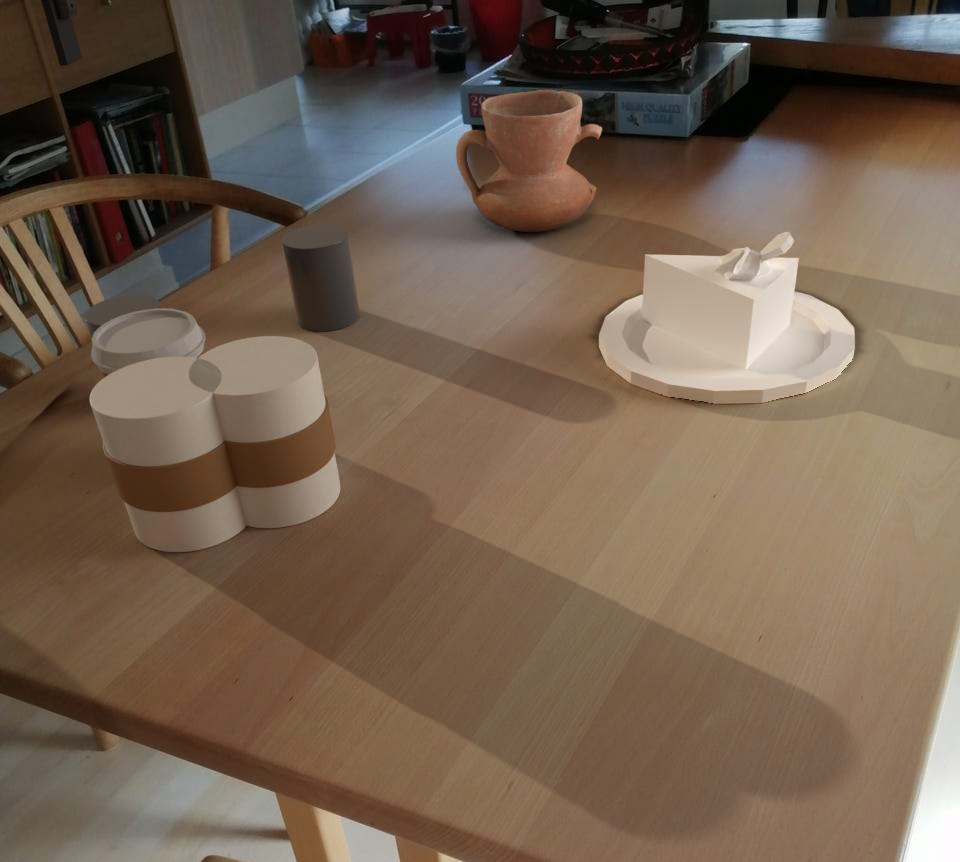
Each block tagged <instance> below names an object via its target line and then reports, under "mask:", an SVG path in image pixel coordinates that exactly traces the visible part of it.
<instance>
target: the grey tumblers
mask: <svg viewBox="0 0 960 862" xmlns="http://www.w3.org/2000/svg"><path fill="white" fill-rule="evenodd" d="M281 243H282V249H283V253H284V259H285V265H286V270H287V275H288V280H289V285H290V286H289V287H290V291H291V297H292V301H293V308H294V312H295V318H296V322H297V324H298V326H299V327H301V328H302V329H304V330H307V331H312V332H332V331H337V330H340V329H341V330H342V329H344V328H347V327H350V326H352V325H353V324H355V323H356V322H357V321H358V320H359V319H360V317H361V311H360V303H359V297H358V290H357V284H356V277H355V271H354V262H353V255H352V250H351V249H352V248H351V242H350V236H349V230H347V228H345V227H343V226H340V225H336V224H311V225H306V226H302V227H299V228H296V229H293V230H291V231H289V232H287V233H286V234H284V236H283V237H282V238H281ZM149 309H162V305H161V302H160V301H159V300H158V299H157V298H156V297H154V296H152V295H148V294H124V295H119V296H118V295H117V296H114V297H111V298H107V299H104V300H102V301H99V302H97V303H95V304H94V305H92V306H90V307H89V308H88V309H87V310H86V311H85V313H84V316H83V317H84V321H85V323H86V326H87V330H88V332H89V333H88V334H89V336H90V338H91V340H92V337H93V334H94V332H95V331H96V330H97V329H98V328H99V327H100V326H101V325H103V324H105V323H106V322H108V321H110V320H112V319H114V318H117V317H119V316H122V315H125V314H129V313H132V312H136V311H142V310H149ZM102 375H103V378H105V376H104V374H103V373H102Z"/></svg>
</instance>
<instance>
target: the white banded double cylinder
mask: <svg viewBox="0 0 960 862" xmlns="http://www.w3.org/2000/svg"><path fill="white" fill-rule="evenodd" d="M319 363H320V362H319V358H318V354H317V351H316V349H315V348H314V347H313V346H312V345H311V344H309V343H308V342H306V341H303V340H301V339H299V338H293V337H290V336H289V337H288V336H280V335H279V336H278V335H263V336H262V335H261V336H252V337H246V338H242V339H235V340H233V341H229V342H226V343H223V344H220V345H218V346H216V347H213V348H211V349H209V350H207V351H206V352H205V353H204V352H203V355H201V356H200V357H199V358H194V357H183V356H175V357H163V358H156V359H150V360H146V361H141V362H138V363H134V364H132V365H129V366H126V367H124V368H121V369H119V370H117V371H115V372H113V373H111V374H109V375H108V376H106V377H105V378H104V377H103V378H102V379H101V380H99V381H98V382H97V383H96V384H95V385H94V387H93V388H92V390H91V392H90V394H89V405H90V407H91V410H92V413H93V416H94V419H95V422H96V424H97V427H98V430H99V434H100V436H101V440H102V449H103V454H104V456H105V460H106V461H107V465H108V467H109V471H110V473H111V476H112V479H113V482H114V485H115V488H116V491H117V495H118V496H119V498H120V499H121V500H122V501H123V503H124V506H125V509H126V512H127V514H128V515H127V516H128V517H129V521H130V524H131V525H132V526H131V527H132V528H133V533H134V535H135V537H136V539H137V540H138V541H139V542H140V543H141V544H143V545H144V546H145V547H148V548H150V549H153V550H156V551H159V552H166V553H189V552H196V551H201V550H204V549H208V548H212V547H215V546H217V545H219V544H222V543H224V542H226V541H229V540H230V539H232V538H233V537H235V536H236V535H238V534H240V533H241V532H242V531H243V530H244V529H245V528H246V527H251V528H256V529H280V528H287V527H291V526H296V525H300V524H302V523H305V522H308V521H311V520H313V519H315V518H317V517H319V516H320V515H322V514H323V513H325V512H326V511H328V510H329V509H330V508H331V507H332V506H333V505H334V504H335V503H336V502H337V501H338V498H339V496H340V494H341V490H342V489H341V481H340V480H341V479H340V475H339V470H338V464H337V459H336V446H337V445H336V439H335V433H334V427H333V422H332V416H331V411H330V404H329V400H328V397H327V396H326V394H325V392H324V391H325V390H324V385H323V380H322V375H321V369H320V364H319Z"/></svg>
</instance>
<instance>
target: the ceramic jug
mask: <svg viewBox="0 0 960 862" xmlns="http://www.w3.org/2000/svg"><path fill="white" fill-rule="evenodd" d="M480 108H481V115H482V121H483V126H484V129H485V131H483V130H479V129H471V130H469V131H467V132H464V134H462V135H461V136H460V138H459V139H458V141H457V143H456V149H455V158H456V164H457V168H458V171H459V174H460V175H461V177H462V179H463V181H464V182H465V184H466V186H467V187H468V190H469V191H470V192H471V198H472V201H473V203H474V204H475V206H476V208H477V209H478V211H479V213H481V215H482V216H483V217H484V218H485V219H486V220H487V221H489V222H490V223H492V224H493V225H495V226H497V227H501V228H503V229H506V230H510V231H514V232H522V233H539V232H547V231H552V230H556V229H560V228H562V227H565V226H568V225H570V224H571V223H574V222H576V220H578V219H579V218H581V217H582V216H583V215H584V214H585V213H586V212H587V210H588V208H589V206H590V205H591V204H592V201H593V199H594V198H595V196H596V194H597V187H596V186H595V185H594V184H592V183H589V181H588V179H587V178H586V177H585V176H584V175H582V174H581V173H580V172H578V171H577V170H576V169H574V168H573V167H571V166H570V165H569V164H567V163H568V159H569V157H570V154H571V152H572V149H573V147H574V146H575V145H576V144H578V143H579V142H580V141H582V140H583V139H585V138H589V137H593V138H595V139H596V140H599V139H600V136H601V135H602V131H603V127H602V126H600V125H598V124H595V123H588V124H585V125H583V126H581V119H582V113H583V99H582V97H581V96H580V95H578V94H577V93H574V92H570V91H565V90H560V91H559V90H555V89H554V90H553V89H552V90H551V89H538V90H530V91H520V92H515V93H507V94H499V95H494V96H492V97H488V98H486V99H485V100H484V101H482V102H481V105H480ZM472 144H477V145H480V146H481V147H483V148H484V149H486V150H487V151H489V152H491V153H492V154H493V155H494V157H496V160H497V162H498V164H499V168H498V169H497V170H496V171H495V172H494V173H493V174H492V175H491V176H489V177H488V178H487V179H486V180H485V181H484V182H483V183H482V184H481V186H480V187H479V186H478V184H477V182H476V180H475V178H474V176H473V173H472V172H471V168H470V166H469V162H468V150H469V149H468V148H469V147H470V145H472Z"/></svg>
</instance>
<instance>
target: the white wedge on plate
mask: <svg viewBox="0 0 960 862" xmlns="http://www.w3.org/2000/svg"><path fill="white" fill-rule="evenodd" d="M794 242H795V240H794V237H793V236H792V235H791V233H790V231H784V232H782V233H779V234H777V235H776V236H774V237H773V239H771V241H770V242H768V244H767V245H765V247H764V248H762V249H761V250H760V252H758V251H757V250H754V249H752V248H749V247H748V246H746V247H741V248H740V247H739V248H734V249H732V250H731V251H730V252H729V253H726V254H723V255H691V254H690V255H685V254H683V255H681V254H644V265H643V266H644V268H643V285H642V286H643V288H642V290H643V291H642V294H640V295H637V296H634V297H632V298H629V299H627V300H625V301H623V302H622V303H620V304H619V305H618V306H617V307H616V308H615V309H613V310H612V311H611V312H609V313H608V314H607V315H605V318H604V320H603V323H602V326H601V328H600V331H599V334H598V348H599V350H600V353H601V356H602V358H603V361H604V362H605V364H606V366H607V368H609V369H610V370H612V372H614V373H616V374H617V375H618V376H619V377H621V378H623V379H624V380H625V382H628V383H629V384H630V385H634V386H636V387H638V388H642V389H644V390H647V391H650V392H652V393H655V394H658V395H661V394H662V395H661V396H663V397H666V396H667V397H666V398H671V397H675V398H674V399H678V398H684V399H689V400H688V401H691V400H695V401H694V402H698V401H704V402H708V403H707V404H711V403H713V404H712V405H724V404H725V405H726V404H727V405H728V404H729V405H731V404H763V403H769V402H773V401H772V400H774V401H777V400H776V399H779V398H784V397H789V396H793V397H795V396H794V395H798V394H803V393H806V392H808V393H810V392H809V391H811V390H813V389H815V388H817V387H819V386H821V385H823V384H825V383H827V382H829V383H831V382H833V381H832V380H834V379H836V378H837V377H838V376H839V375H840V376H841V374H842V373H843V372H844V371H845V370H846V369H847V368H848V366H849V365H850V364H851V363H852V362H853V360H854V354H855V349H856V341H855V340H856V339H855V338H856V337H855V336H856V334H855V326H853V324H852V323H851V322H850V321H849V320H848V319H847V318H846V317H845V316H844V315H843V313H842V312H841V311H840V309H838V308H836V307H834V306H832V305H830V304H828V303H826V302H824V301H822V300H821V299H818V298H817V297H815V296H813V295H811V294H807V293H804V292H800V291H796V290H795V289H796V284H797V283H796V282H797V274H798V269H799V268H798V267H799V261H800V258H799V257H780V256H782V255H785V254H786V253H787V252H788V251H789V250H790V249H791V247H792V246H793V245H794ZM852 359H853V360H852ZM850 362H851V363H850ZM849 363H850V364H849ZM848 364H849V365H848ZM847 365H848V366H847ZM845 368H846V369H845ZM844 369H845V370H844ZM843 370H844V371H843ZM842 371H843V372H842ZM841 372H842V373H841ZM840 376H839V377H840ZM839 377H838V378H839ZM838 378H837V379H838ZM837 379H836V380H837ZM830 381H831V382H830ZM834 381H835V380H834ZM827 384H828V383H827ZM825 385H826V384H825ZM823 386H824V385H823ZM821 387H822V386H821ZM819 388H820V387H819ZM817 389H818V388H817ZM815 390H816V389H815ZM813 391H814V390H813ZM811 392H812V391H811ZM806 394H807V393H806ZM803 395H804V394H803ZM798 396H799V395H798ZM789 398H790V397H789ZM684 399H683V400H684ZM784 399H785V398H784ZM696 400H697V401H696ZM779 400H780V399H779ZM768 401H769V402H768ZM704 402H703V403H704Z"/></svg>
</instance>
